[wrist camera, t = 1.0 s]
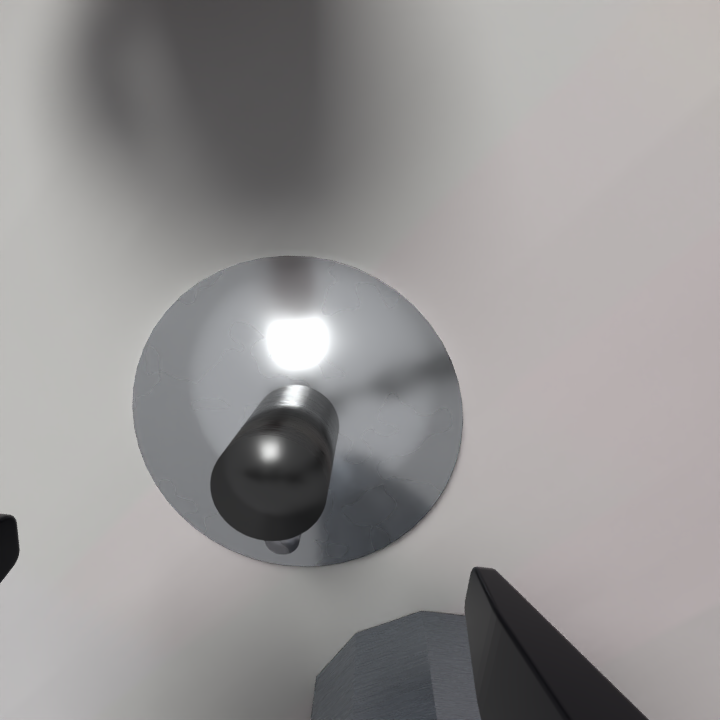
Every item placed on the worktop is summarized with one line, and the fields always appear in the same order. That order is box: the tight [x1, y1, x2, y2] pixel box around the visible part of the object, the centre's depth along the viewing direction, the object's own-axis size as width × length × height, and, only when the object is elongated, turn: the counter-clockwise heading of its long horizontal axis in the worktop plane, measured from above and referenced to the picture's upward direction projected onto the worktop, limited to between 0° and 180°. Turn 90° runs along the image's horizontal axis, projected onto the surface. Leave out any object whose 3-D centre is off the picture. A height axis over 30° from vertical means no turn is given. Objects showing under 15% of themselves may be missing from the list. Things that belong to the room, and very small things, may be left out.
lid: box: [133, 256, 463, 566], centre depth 13 cm, size 12×12×5 cm
